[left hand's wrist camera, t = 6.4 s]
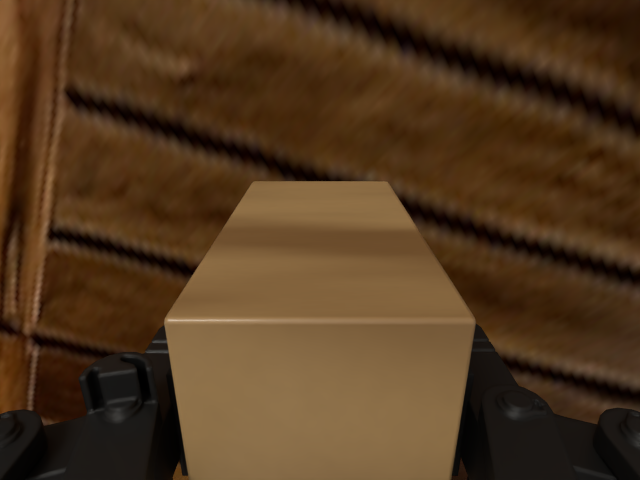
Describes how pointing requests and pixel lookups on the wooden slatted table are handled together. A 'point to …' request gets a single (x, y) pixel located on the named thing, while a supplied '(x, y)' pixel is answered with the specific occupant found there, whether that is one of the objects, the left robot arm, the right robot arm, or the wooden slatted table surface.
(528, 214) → the wooden slatted table surface
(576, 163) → the wooden slatted table surface
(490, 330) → the wooden slatted table surface
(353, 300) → the bar
